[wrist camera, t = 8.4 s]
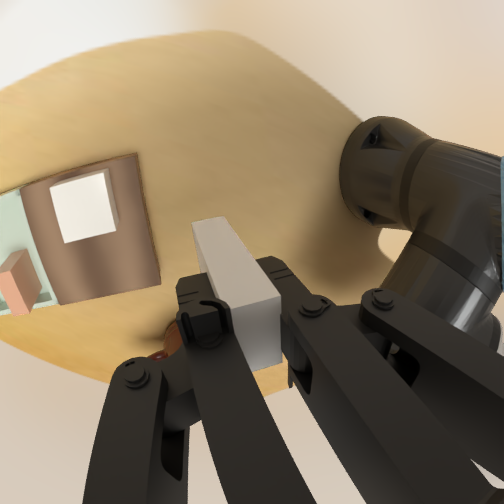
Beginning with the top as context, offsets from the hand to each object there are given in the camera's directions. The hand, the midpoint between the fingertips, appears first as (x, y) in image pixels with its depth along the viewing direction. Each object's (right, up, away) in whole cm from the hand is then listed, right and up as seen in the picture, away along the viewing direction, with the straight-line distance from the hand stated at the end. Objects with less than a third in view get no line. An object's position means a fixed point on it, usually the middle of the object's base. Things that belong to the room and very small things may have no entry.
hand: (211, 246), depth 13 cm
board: (-14, +2, +12) cm, 19 cm away
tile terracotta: (-21, -3, +9) cm, 23 cm away
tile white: (-13, +4, +8) cm, 16 cm away
